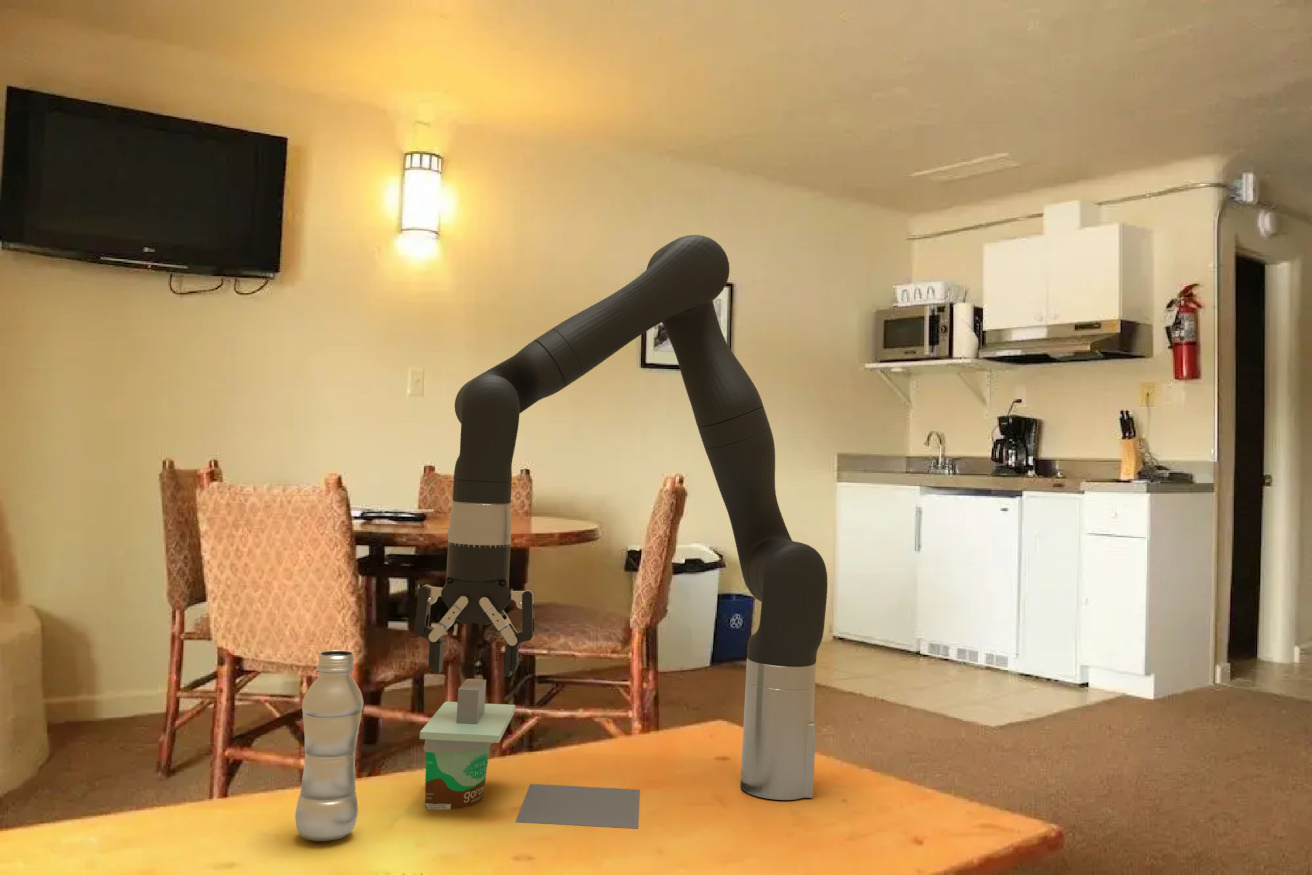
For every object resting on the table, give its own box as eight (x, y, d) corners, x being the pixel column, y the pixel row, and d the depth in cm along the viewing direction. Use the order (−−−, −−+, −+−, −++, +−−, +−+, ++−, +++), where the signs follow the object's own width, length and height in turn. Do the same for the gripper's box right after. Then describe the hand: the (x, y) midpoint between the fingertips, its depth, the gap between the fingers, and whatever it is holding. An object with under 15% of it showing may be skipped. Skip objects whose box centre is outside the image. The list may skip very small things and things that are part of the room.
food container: (469, 827, 117) (474, 739, 117) (419, 820, 118) (424, 733, 118) (506, 794, 129) (511, 714, 129) (460, 789, 130) (465, 710, 130)
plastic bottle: (368, 832, 114) (379, 651, 114) (330, 853, 107) (342, 661, 108) (320, 822, 116) (331, 645, 116) (280, 842, 109) (291, 654, 110)
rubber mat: (639, 797, 130) (639, 789, 130) (637, 837, 116) (638, 828, 116) (529, 791, 130) (530, 783, 130) (514, 830, 116) (515, 821, 116)
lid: (515, 711, 131) (517, 673, 131) (498, 742, 116) (501, 700, 116) (444, 707, 131) (447, 670, 131) (419, 738, 116) (422, 696, 116)
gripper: (541, 540, 128) (535, 670, 128) (428, 534, 128) (421, 665, 128) (534, 545, 121) (527, 683, 120) (413, 539, 121) (406, 677, 120)
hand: (472, 673), depth 124 cm, fingers open, 8 cm apart
